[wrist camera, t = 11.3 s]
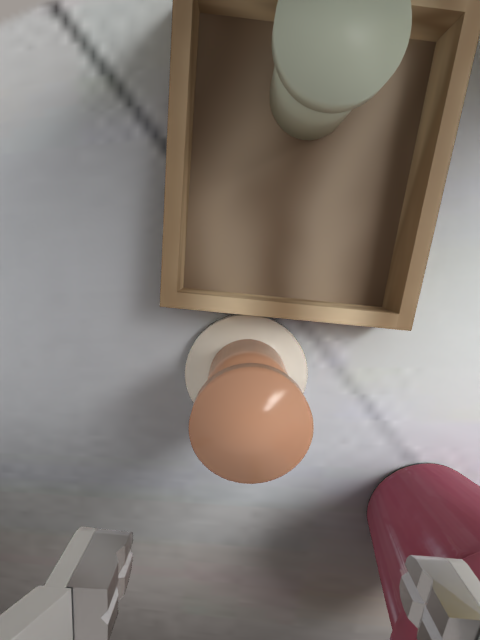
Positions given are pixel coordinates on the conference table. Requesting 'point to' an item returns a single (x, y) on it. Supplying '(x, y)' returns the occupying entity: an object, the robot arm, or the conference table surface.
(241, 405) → the peach mushroom knob
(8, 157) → the conference table surface
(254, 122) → the brown wooden tray
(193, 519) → the conference table surface
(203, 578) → the conference table surface
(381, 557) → the plant pot
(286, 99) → the sage pot
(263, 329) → the cream disc
